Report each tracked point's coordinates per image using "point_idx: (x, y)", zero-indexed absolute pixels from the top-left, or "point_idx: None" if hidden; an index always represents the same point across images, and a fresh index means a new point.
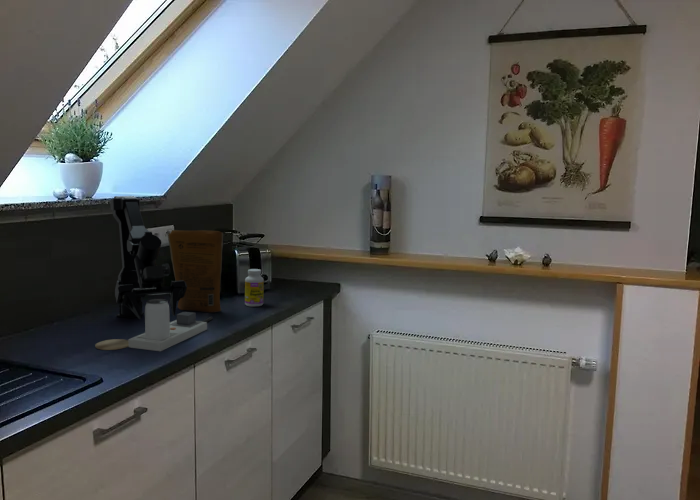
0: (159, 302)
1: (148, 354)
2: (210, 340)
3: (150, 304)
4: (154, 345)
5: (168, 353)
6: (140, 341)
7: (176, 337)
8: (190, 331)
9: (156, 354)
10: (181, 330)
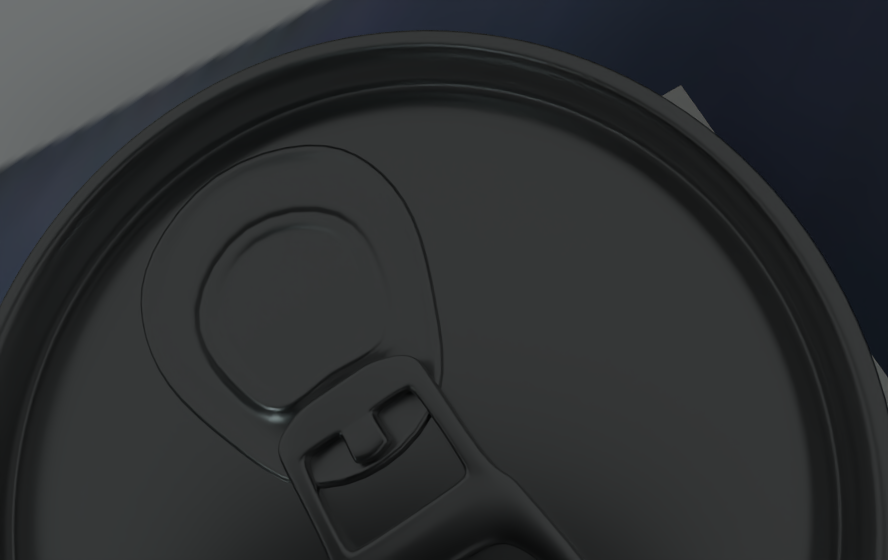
0: (323, 366)
1: (849, 106)
2: (37, 196)
3: (795, 288)
4: None
5: (631, 19)
6: (879, 373)
7: None
8: None
9: (764, 56)
10: None
